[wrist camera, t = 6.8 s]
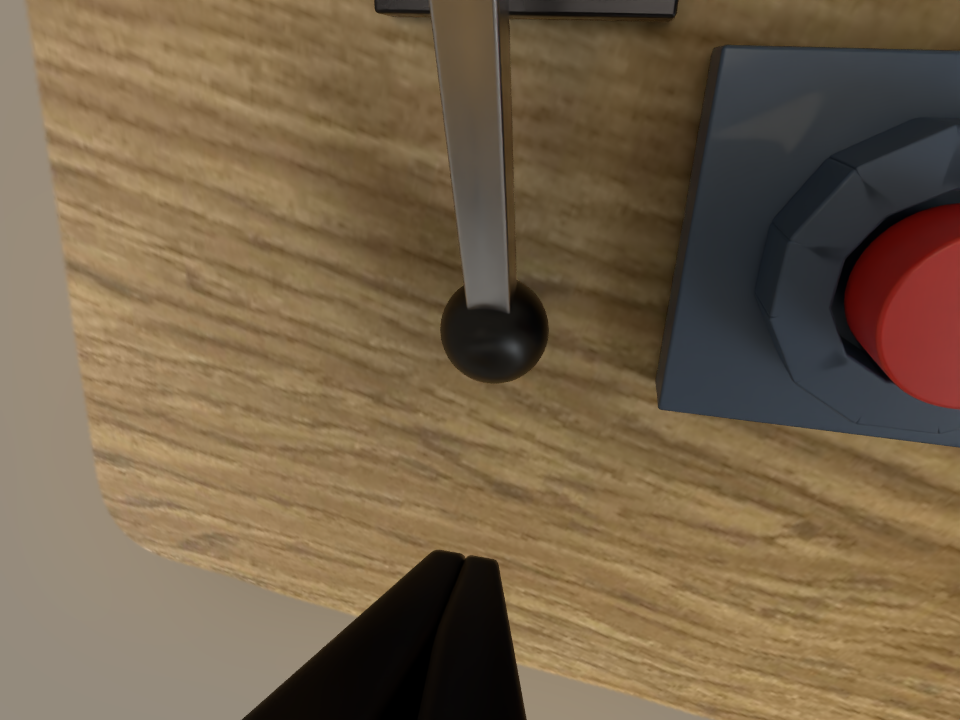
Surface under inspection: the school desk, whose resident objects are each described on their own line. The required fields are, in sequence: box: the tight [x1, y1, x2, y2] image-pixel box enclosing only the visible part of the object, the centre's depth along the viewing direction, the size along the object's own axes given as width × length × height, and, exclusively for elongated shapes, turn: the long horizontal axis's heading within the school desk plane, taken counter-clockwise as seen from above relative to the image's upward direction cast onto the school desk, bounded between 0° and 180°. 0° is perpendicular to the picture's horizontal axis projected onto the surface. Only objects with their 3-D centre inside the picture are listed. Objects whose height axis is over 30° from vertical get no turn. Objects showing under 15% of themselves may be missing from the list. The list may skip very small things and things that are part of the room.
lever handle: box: [429, 0, 549, 384], centre depth 11 cm, size 15×3×3 cm, turn 178°
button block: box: [656, 45, 960, 447], centre depth 14 cm, size 10×9×4 cm
